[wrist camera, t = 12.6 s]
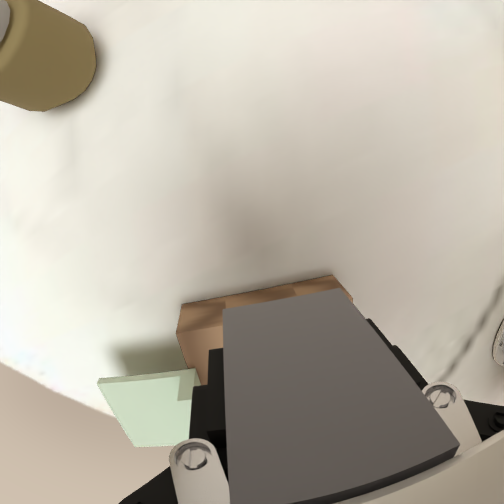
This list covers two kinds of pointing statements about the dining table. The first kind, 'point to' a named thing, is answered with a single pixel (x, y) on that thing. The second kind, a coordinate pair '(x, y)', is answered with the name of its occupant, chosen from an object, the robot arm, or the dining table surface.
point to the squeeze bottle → (42, 55)
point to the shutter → (152, 405)
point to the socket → (211, 318)
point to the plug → (320, 405)
